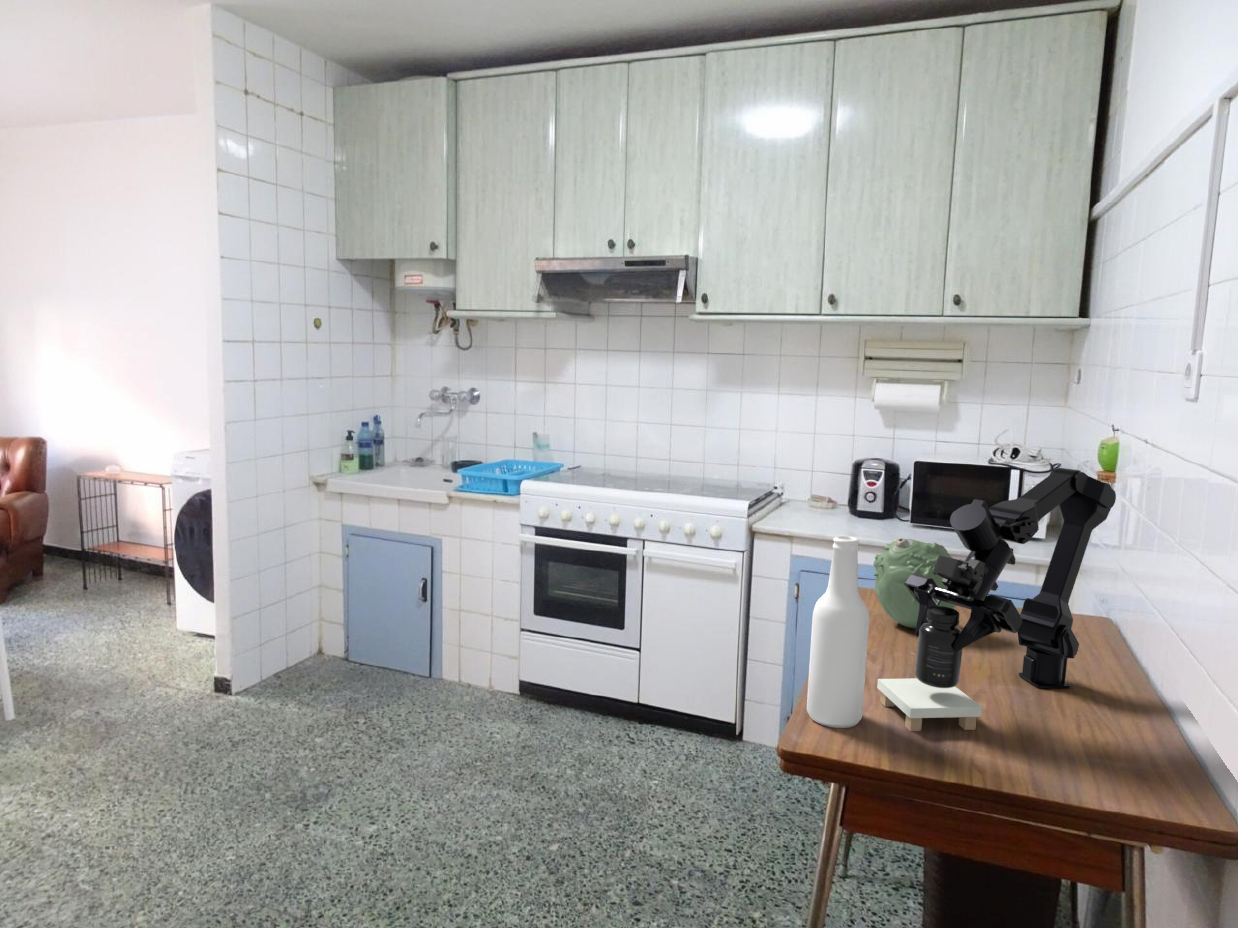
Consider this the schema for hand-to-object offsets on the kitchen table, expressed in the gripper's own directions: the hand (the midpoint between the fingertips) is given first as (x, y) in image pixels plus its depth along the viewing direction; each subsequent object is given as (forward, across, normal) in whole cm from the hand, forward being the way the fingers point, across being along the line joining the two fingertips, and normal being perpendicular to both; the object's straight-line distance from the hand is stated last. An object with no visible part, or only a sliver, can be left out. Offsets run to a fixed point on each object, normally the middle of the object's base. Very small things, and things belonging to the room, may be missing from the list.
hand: (935, 642), depth 132 cm
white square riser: (+8, -2, +10) cm, 13 cm away
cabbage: (-18, -33, +38) cm, 53 cm away
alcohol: (+19, -9, 0) cm, 21 cm away
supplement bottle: (+4, 0, +6) cm, 7 cm away
